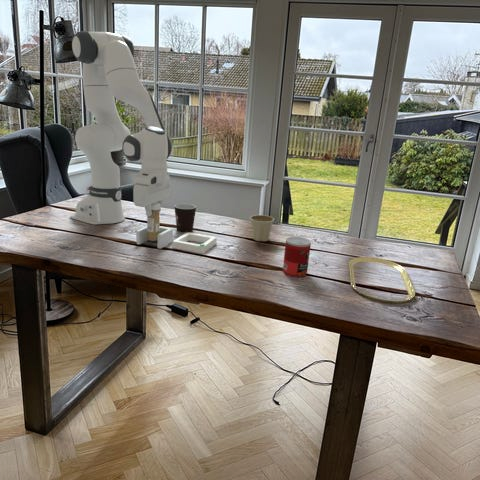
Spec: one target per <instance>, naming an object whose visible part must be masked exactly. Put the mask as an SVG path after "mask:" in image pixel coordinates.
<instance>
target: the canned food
mask: <svg viewBox="0 0 480 480" xmlns="http://www.w3.org/2000/svg"><path fill="white" fill-rule="evenodd" d="M311 243H312V242H311V241H310V240H309V239H307V238H305V237H299V236H291V237H287V238H286V239H285V244H284V245H285V246H284V255H283V256H284V257H283V265H282V270H283V273H284V275H286V276H289V277H293V278H302V277H306V275H307V273H308V267H309V260H310V252H311Z"/></svg>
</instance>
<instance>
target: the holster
mask: <svg viewBox="0 0 480 480" xmlns="http://www.w3.org/2000/svg"><path fill="white" fill-rule="evenodd" d="M173 231H174V228H171V227H170V228H169V227H164V226H160V225H159V234H158V240H157V249H163V248H164V247H166V246H168V245H170V244H171V243H173V241H174V240H173V237H174V232H173ZM135 234H136V237H135V238H136V245H142V244H144V243H146V242H148V239H147V225H145V226H144V227H141V228H139V229H138V230H136V232H135Z"/></svg>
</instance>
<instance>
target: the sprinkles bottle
mask: <svg viewBox="0 0 480 480" xmlns="http://www.w3.org/2000/svg"><path fill="white" fill-rule="evenodd" d="M151 210H152V211H153V214H152V215H151V216H147V215H146V219H147V220H146V221H147V223H146V226H147V239H148V240H149V241H156V242H157V241H158V234H159V226H160V212H161V211H160V203H157V202H155V203H153V204H151ZM148 240H147V241H148Z"/></svg>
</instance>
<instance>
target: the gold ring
mask: <svg viewBox="0 0 480 480" xmlns="http://www.w3.org/2000/svg"><path fill="white" fill-rule="evenodd" d="M363 262H365V263H366V262H367V263H368V262H369V263H370V262H371V263H377V264H378V263H379V264H383V265H387V266H389V267H391V268H394V269H395V270H397V271H398V272H399V273H400V276H401V278H402V281H403V283H404V284H403V285H404V286H405V288H406V291H407V294H408V297H407V298H406V299H401V300H398V299H396V300H395V299H393V300H392V299H386V298H379V297H376V296H372V295H370V294H367V293H364V292H362V291H360V290H359V289H358V288H357V286H356V281H355V280H356V279H355V270H354V266H355V264H357V263H363ZM348 267H349V268H348V269H349V278H350V279H349V280H350V285H351V287H352V288H353V290H355V292H357V293H358V294H360V295H362V296H363V297H365V298H367V299H369V300H374V301H378V302H381V303H388V304H401V303H406V302H409V301H411V300H412V299H413V298H414V297H415V295H416V291H415V289H414V286H413V284H412V281H411V280H410V278H409V275H408V273H407V271H406V269H405V267H403V265H402V266H401V265H400V264H398V263H396V262H393V261H391V260H387V259H384V258H378V257H371V256H370V257H369V256H361V257H360V256H359V257H355V258H352V259H350V260H349V262H348Z"/></svg>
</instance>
